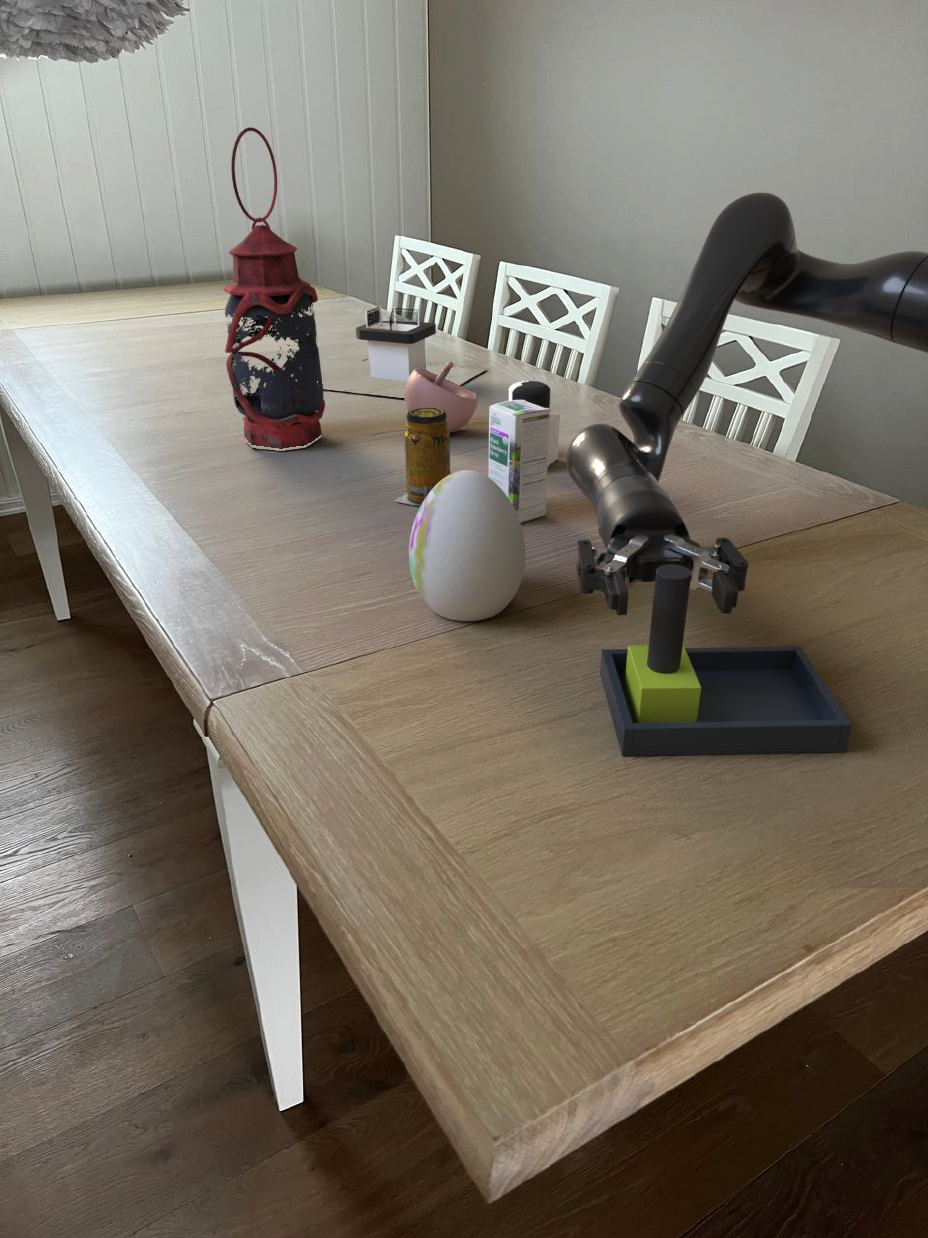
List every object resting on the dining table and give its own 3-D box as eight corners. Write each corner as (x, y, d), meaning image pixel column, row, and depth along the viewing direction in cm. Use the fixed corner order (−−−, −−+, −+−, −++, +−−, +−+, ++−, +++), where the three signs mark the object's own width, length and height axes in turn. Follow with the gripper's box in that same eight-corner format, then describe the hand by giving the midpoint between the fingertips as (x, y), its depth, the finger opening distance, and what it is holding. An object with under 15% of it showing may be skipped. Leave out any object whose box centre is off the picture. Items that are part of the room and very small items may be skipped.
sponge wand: (679, 682, 85) (694, 552, 78) (696, 727, 78) (714, 590, 72) (624, 682, 85) (635, 553, 78) (637, 727, 78) (650, 591, 72)
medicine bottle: (558, 459, 141) (562, 380, 135) (540, 473, 135) (542, 392, 129) (516, 452, 144) (517, 375, 138) (496, 466, 138) (496, 386, 132)
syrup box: (485, 512, 123) (486, 404, 116) (521, 502, 125) (523, 396, 118) (512, 526, 118) (514, 415, 111) (547, 515, 121) (551, 406, 114)
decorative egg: (449, 570, 107) (446, 445, 100) (543, 594, 102) (548, 463, 95) (388, 614, 98) (381, 480, 91) (489, 643, 93) (489, 503, 85)
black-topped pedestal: (488, 369, 189) (488, 302, 183) (432, 403, 168) (430, 327, 162) (368, 358, 199) (364, 293, 193) (301, 387, 179) (295, 316, 172)
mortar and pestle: (486, 439, 150) (486, 368, 144) (414, 446, 147) (411, 374, 141) (468, 418, 160) (467, 351, 154) (400, 424, 157) (396, 356, 152)
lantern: (300, 459, 142) (267, 127, 120) (217, 450, 146) (171, 128, 124) (343, 429, 155) (320, 125, 133) (266, 422, 159) (232, 126, 137)
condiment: (420, 485, 132) (417, 402, 126) (473, 494, 128) (472, 409, 122) (393, 502, 126) (389, 416, 120) (448, 512, 123) (446, 424, 117)
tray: (795, 671, 87) (800, 645, 86) (846, 752, 76) (852, 724, 75) (599, 674, 87) (601, 649, 86) (622, 756, 76) (624, 728, 75)
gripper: (567, 489, 87) (591, 564, 73) (718, 487, 87) (771, 561, 73) (563, 562, 91) (585, 646, 76) (708, 559, 91) (757, 643, 77)
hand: (676, 604), depth 75 cm, fingers open, 8 cm apart
